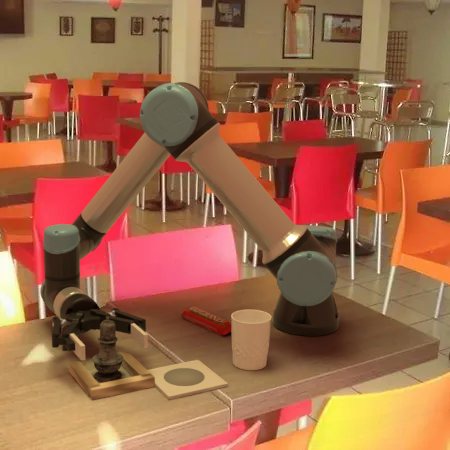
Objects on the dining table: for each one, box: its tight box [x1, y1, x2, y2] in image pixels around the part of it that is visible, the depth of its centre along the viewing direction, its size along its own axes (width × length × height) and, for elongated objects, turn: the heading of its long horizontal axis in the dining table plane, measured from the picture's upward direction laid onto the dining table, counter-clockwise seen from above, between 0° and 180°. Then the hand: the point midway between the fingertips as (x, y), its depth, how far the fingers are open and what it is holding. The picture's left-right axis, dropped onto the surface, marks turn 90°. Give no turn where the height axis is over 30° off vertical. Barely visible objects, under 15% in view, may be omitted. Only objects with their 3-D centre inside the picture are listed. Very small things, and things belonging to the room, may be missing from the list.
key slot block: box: [68, 351, 155, 401], centre depth 134 cm, size 12×13×2 cm
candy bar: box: [180, 305, 231, 336], centre depth 162 cm, size 16×4×3 cm, turn 41°
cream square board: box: [147, 359, 229, 401], centre depth 135 cm, size 12×12×1 cm
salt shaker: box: [91, 316, 124, 383], centre depth 134 cm, size 6×6×12 cm
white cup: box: [230, 308, 273, 371], centre depth 142 cm, size 8×8×10 cm
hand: (115, 347), depth 131 cm, fingers open, 11 cm apart
